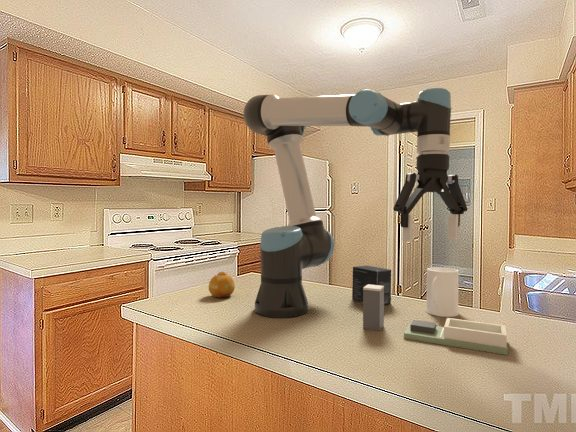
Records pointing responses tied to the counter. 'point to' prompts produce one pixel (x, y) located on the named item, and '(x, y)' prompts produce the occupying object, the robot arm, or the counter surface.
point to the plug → (373, 307)
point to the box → (371, 281)
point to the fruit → (221, 285)
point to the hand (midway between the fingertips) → (430, 240)
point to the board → (436, 335)
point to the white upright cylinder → (442, 291)
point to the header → (475, 332)
